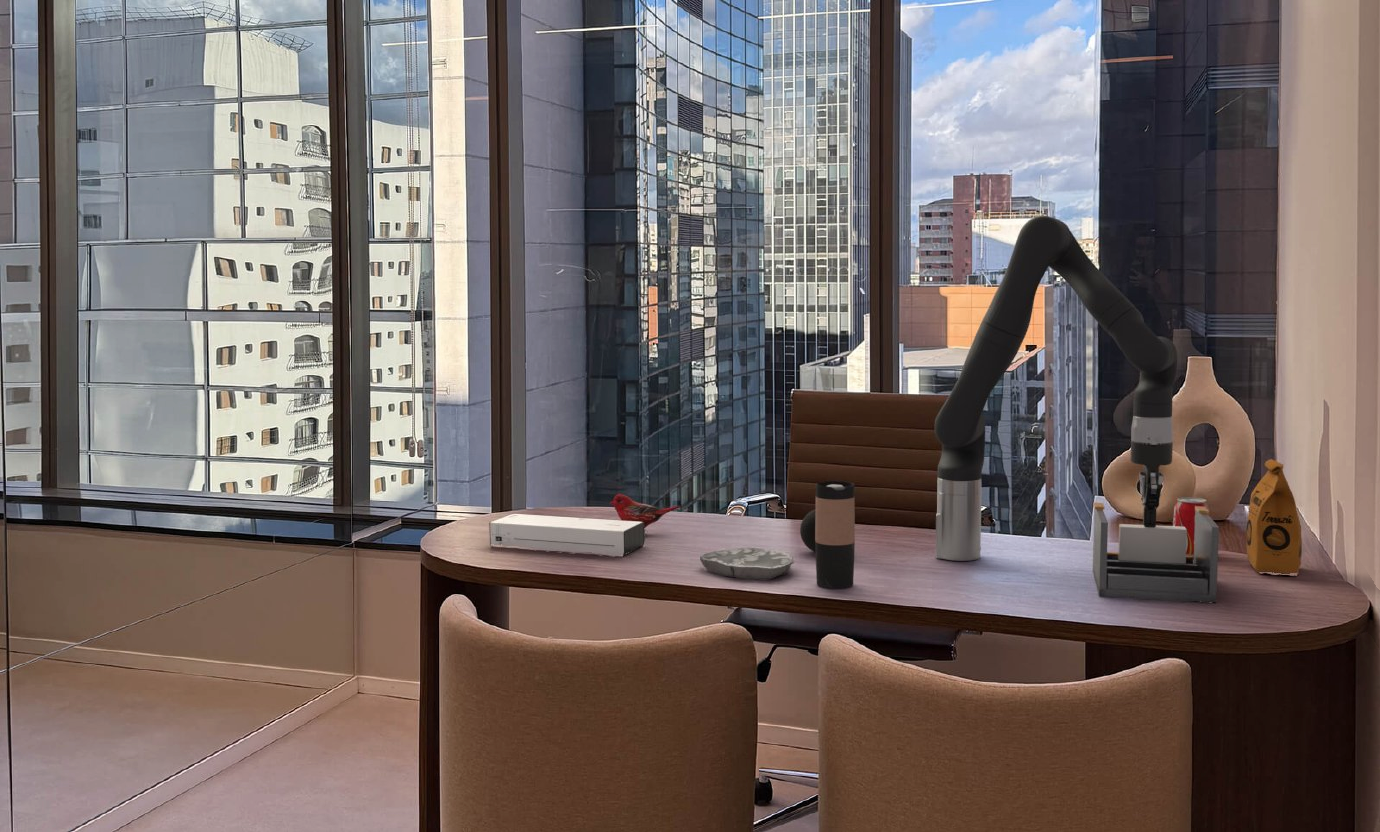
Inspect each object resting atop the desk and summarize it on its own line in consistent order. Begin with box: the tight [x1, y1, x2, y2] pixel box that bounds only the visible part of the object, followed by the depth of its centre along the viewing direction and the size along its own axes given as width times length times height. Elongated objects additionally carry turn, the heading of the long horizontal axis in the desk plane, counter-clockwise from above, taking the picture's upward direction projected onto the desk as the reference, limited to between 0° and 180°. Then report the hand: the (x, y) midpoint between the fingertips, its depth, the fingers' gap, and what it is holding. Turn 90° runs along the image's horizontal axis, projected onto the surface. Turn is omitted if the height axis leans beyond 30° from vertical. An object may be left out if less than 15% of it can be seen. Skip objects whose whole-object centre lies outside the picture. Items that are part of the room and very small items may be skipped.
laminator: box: [488, 513, 646, 556], centre depth 256 cm, size 34×12×6 cm, turn 69°
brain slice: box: [699, 547, 795, 580], centre depth 233 cm, size 20×17×3 cm
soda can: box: [1172, 496, 1210, 558], centre depth 241 cm, size 7×7×12 cm
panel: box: [1118, 523, 1187, 564], centre depth 220 cm, size 12×3×9 cm, turn 74°
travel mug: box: [815, 480, 856, 590], centre depth 219 cm, size 8×8×20 cm
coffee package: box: [1245, 458, 1303, 574], centre depth 226 cm, size 10×12×22 cm
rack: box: [1092, 502, 1220, 603], centre depth 215 cm, size 21×20×14 cm
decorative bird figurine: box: [609, 493, 681, 531], centre depth 270 cm, size 3×18×10 cm, turn 106°
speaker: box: [799, 508, 816, 553], centre depth 247 cm, size 10×10×10 cm
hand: (1149, 526), depth 220 cm, fingers closed
